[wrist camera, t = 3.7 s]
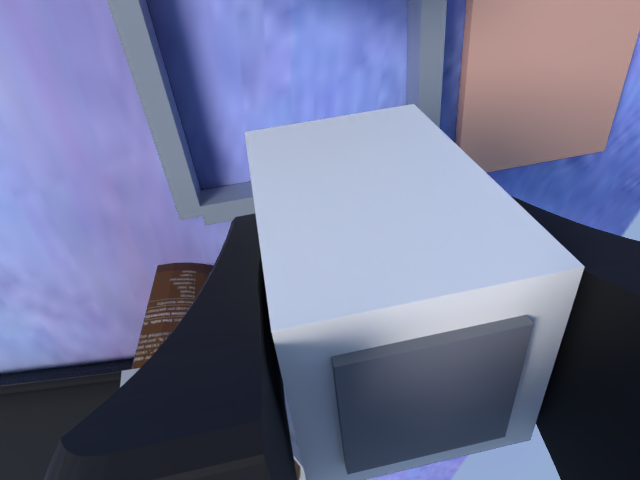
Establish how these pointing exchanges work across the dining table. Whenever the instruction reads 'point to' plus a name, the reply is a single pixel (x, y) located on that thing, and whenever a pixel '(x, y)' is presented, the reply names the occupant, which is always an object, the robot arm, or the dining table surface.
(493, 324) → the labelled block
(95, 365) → the carrying case or bag
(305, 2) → the dining table surface
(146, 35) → the grey rectangular frame
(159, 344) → the food container
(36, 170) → the dining table surface
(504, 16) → the terracotta mat
